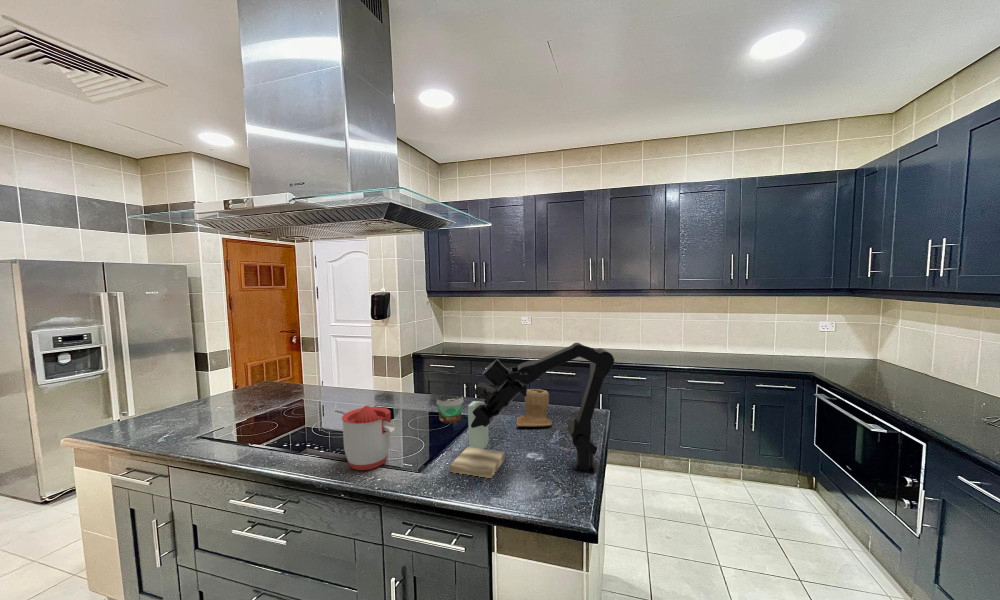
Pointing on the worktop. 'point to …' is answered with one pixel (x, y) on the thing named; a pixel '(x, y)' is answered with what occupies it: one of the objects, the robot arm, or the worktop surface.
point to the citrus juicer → (367, 436)
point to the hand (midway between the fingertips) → (474, 423)
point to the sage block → (477, 428)
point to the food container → (450, 410)
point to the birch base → (478, 462)
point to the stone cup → (535, 409)
